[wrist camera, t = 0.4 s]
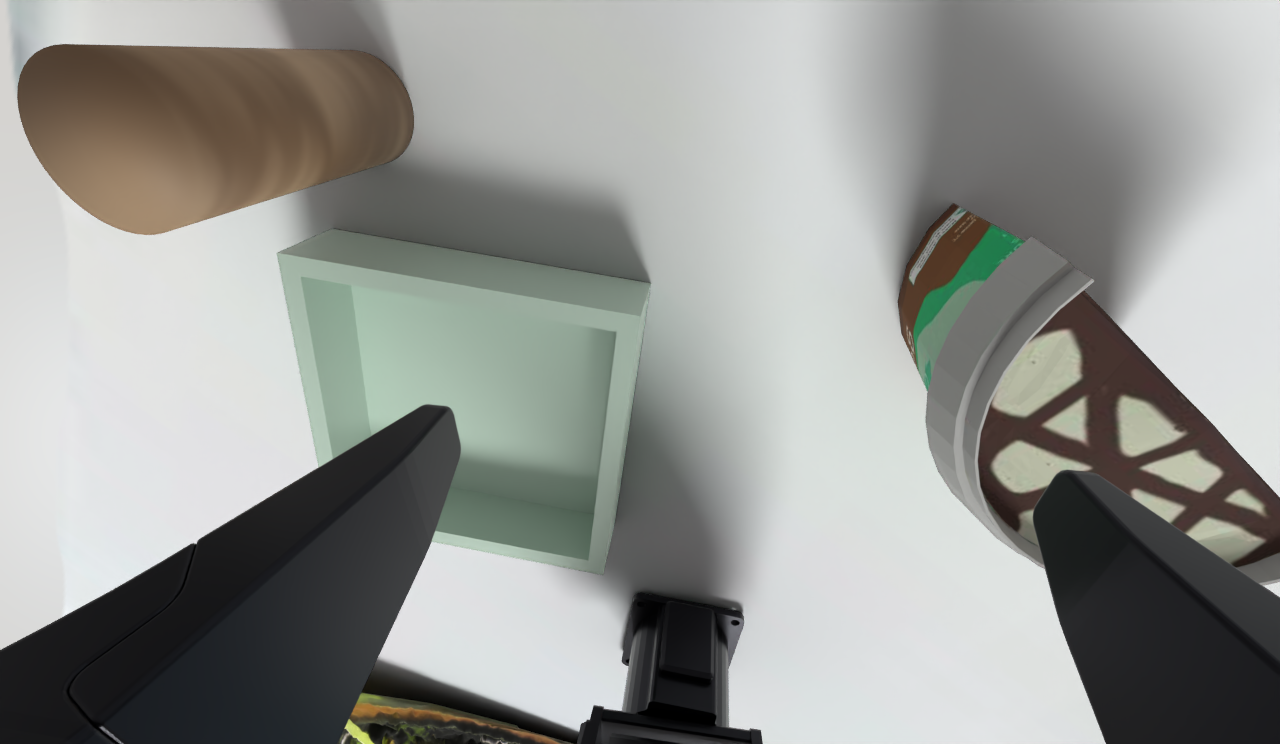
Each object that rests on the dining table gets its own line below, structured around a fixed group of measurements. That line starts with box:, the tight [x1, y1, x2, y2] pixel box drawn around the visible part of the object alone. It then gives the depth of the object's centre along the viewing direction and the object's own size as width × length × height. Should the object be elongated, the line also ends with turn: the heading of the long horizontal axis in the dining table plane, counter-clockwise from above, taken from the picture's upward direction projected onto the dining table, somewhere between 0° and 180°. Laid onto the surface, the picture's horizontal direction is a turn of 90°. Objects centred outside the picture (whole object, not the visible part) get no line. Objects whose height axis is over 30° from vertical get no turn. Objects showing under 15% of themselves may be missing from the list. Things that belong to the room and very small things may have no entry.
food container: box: [898, 203, 1280, 585], centre depth 19 cm, size 12×6×10 cm, turn 51°
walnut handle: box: [17, 44, 414, 235], centre depth 17 cm, size 4×4×10 cm
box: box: [277, 229, 651, 575], centre depth 26 cm, size 14×14×4 cm
